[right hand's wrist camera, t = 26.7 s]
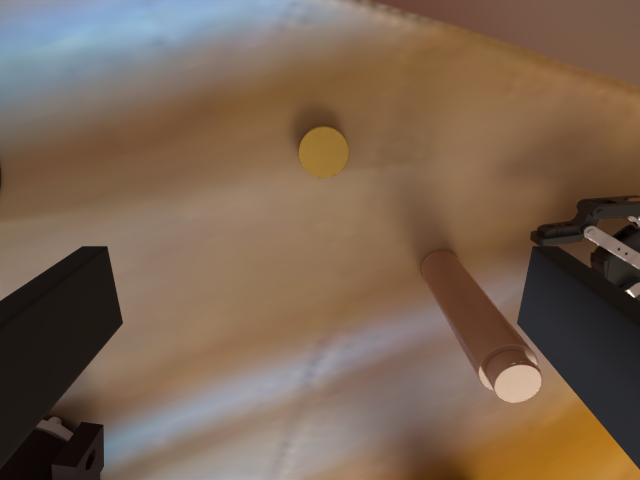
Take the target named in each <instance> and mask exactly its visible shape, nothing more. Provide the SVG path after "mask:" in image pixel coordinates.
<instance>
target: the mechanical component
mask: <svg viewBox="0 0 640 480" xmlns="http://www.w3.org/2000/svg"><path fill="white" fill-rule="evenodd" d="M61 424H62V421H61V419H59V418H58V417H52V418H50V419H49V420H48V421H46V420H41V422H40V423H39V424H38V425H37V426H36V427H35V429H34V430H33V431H32V432H31V433H30V435H29V436H28V437H27V438H26V439H25V441H24V442H23V443H22V444H21V445H20V447H19V448H18V449H17V450H16V451H15V453H14V454H13V455H12V456H11V457H10V458H9V460H8V461H7V462H6V463H5V464H4V466H3V467H2V468H1V469H0V480H100V472H101V470H102V469H103V467H104V434H103V425H100V424H93V423H86V422H81V424H80V425H79V427H78V428H77V429H76V431H75V432H74V434H73V433H72V432H70V431H69V430H68V429H66V428H65V427H63V426H62V425H61Z"/></svg>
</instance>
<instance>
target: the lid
mask: <svg viewBox="0 0 640 480" xmlns="http://www.w3.org/2000/svg"><path fill="white" fill-rule="evenodd" d="M348 156H349V149H348V144H347V142H346V140H345V138H344V136H343V135H342V133H341V132H340V131H338V130H337V129H335V128H333V127H331V126H325V125H323V126H317V127H314V128H312V129H310V130H309V131H308V132H307V133H306V134H305V135H304V137H303V138H302V140H301V143H300V146H299V159H300V162H301V164H302V166H303V167H304V168H305V170H306V171H307V172H309V173H310V174H312V175H314V176H316V177H321V178H326V177H331V176H334V175H336V174H337V173H339V172H340V171H341V170H342V169H343V168H344V166H345V165H346V163H347V160H348Z"/></svg>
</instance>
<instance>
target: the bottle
mask: <svg viewBox="0 0 640 480" xmlns="http://www.w3.org/2000/svg"><path fill="white" fill-rule="evenodd" d="M421 273H422V276H423V278H424V279H425V281H426V283H427V285H428V287H429V289H430V290H431V292H432V294H433V296H434V298H435V300H436V301H437V303H438V305H439V307H440V309H441V311H442V312H443V314H444V316H445V318H446V320H447V321H448V323H449V325H450V327H451V329H452V331H453V332H454V334H455V336H456V338H457V340H458V342H459V343H460V345H461V347H462V349H463V351H464V353H465V354H466V356H467V358H468V360H469V362H470V364H471V365H472V367H473V369H474V371H475V373H476V375H477V376H478V378H479V380H480V382H481V383H482V384H483V385H484V386H485V387H486V388H488V389H490V390H492V391H494V392H495V394H496V395H497V396H498V397H499V398H500V399H501V400H503V401H506V402H511V403H517V402H522V401H525V400H528V399H529V398H531V397H533V396H534V395H535V394H536V393H537V392H538V391H539V389H540V387H541V384H542V376H541V373H540V369H539V368H538V362H537V357H536V355H535V354H534V352H533V351H532V350H531V349H530V347H529V346H528V345H527V344H526V342H525V341H524V340H523V339H522V337H521V336H520V335H519V334H518V332H517V331H516V330H515V329H514V328H513V326H512V325H511V324H510V323H509V321H508V320H507V319H506V318H505V316H504V315H503V314H502V313H501V311H500V310H499V309H498V308H497V307H496V305H495V304H494V303H493V302H492V300H491V299H490V298H489V297H488V295H487V294H486V293H485V292H484V290H483V289H482V288H481V287H480V286H479V284H478V283H477V282H476V281H475V279H474V278H473V277H472V276H471V274H470V273H469V272H468V271H467V269H466V268H465V267H464V266H463V265H462V263H461V262H460V261H459V260H458V258H457V257H456V256H455V255H454V254H453V253H451V252H449V251H446V250H438V251H434V252H432V253H430V254H429V255H428V256H427V257H426V258H425V259H424V260H423V262H422V265H421Z"/></svg>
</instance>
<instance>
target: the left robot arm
mask: <svg viewBox="0 0 640 480" xmlns="http://www.w3.org/2000/svg"><path fill="white" fill-rule="evenodd" d="M577 209H578V213H577V215H576V217H575V218H574V219H572V220H571V221H568V222H561V223H554V224H545V225H541V226H539V227H537V231H532V232H531V240H532V241H533V242H535V243H536V244H537V245H540V246H548V245H556V244H564V243H572V242H580V241H581V238H582V237H584V238H586V239H588V240H589V241H591V242H592V243H594V244H596V245H597V246H598V247H597V248H596V250H595V251H594V252H593V253H591V258H590V261H591V266H592V267H591V269H592V270H594V271H595V272H597V273H598V274H600V275H601V276H603V277H604V278H606V279H607V280H609V281H610V282H612V283H613V284H615V285H616V286H618V287H619V288H621V289H622V290H624V291H625V292H627V293H628V294H630V295H631V296H633V297H635V298H636V299H638V300H639V301H640V196H637V195H635V196H621V197H608V198H594V199H583V200H581V201H579V202H578V204H577ZM618 217H623V218H624V219H627V220H629V221H631V224H630V225H627V226H626V227H624V228H623V229H621V230H620V231H619V232H617V233H616V234H614V235H613V236H610V235H608V234H606V233H605V232H603V231H602V230H600V229H598V228H597V227H596V225H597V223H598V221H599V219H605V218H618Z"/></svg>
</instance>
